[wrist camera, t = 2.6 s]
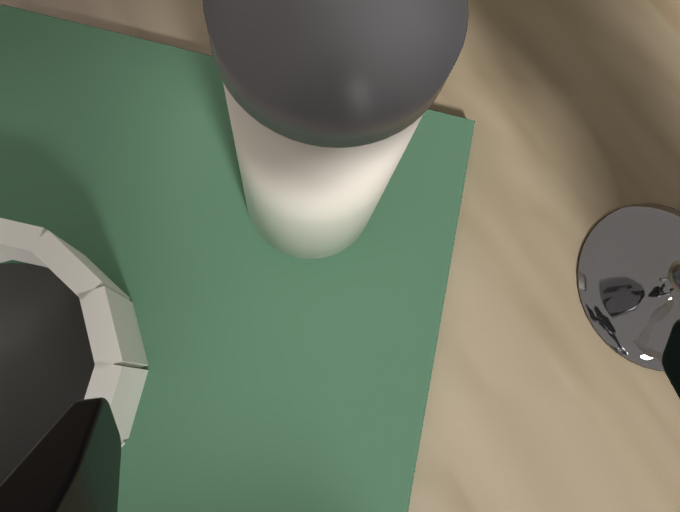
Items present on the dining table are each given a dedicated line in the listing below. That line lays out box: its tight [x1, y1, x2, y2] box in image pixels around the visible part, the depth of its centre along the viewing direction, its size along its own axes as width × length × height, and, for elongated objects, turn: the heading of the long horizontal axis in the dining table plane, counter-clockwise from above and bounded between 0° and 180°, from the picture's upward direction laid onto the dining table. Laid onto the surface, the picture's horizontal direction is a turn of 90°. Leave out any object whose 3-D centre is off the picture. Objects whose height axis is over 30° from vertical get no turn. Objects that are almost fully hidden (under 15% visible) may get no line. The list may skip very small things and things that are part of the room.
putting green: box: [0, 4, 475, 512], centre depth 20 cm, size 20×20×4 cm
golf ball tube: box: [203, 0, 468, 259], centre depth 17 cm, size 5×5×12 cm
